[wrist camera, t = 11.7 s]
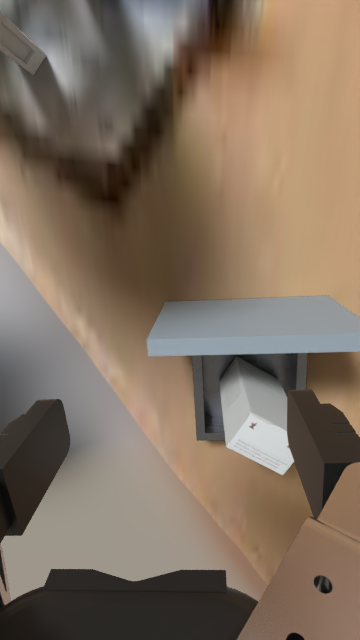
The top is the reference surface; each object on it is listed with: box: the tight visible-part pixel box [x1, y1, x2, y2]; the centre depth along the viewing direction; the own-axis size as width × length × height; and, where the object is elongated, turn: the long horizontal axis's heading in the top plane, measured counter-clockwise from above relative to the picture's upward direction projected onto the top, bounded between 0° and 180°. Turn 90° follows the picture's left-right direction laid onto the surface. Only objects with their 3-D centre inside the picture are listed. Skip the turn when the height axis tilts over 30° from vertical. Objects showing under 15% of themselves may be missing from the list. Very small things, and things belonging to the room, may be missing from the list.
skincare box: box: [219, 357, 294, 475], centre depth 35 cm, size 6×4×12 cm
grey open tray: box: [192, 353, 308, 440], centre depth 39 cm, size 12×14×4 cm
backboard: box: [147, 295, 360, 356], centre depth 33 cm, size 18×2×12 cm, turn 94°
